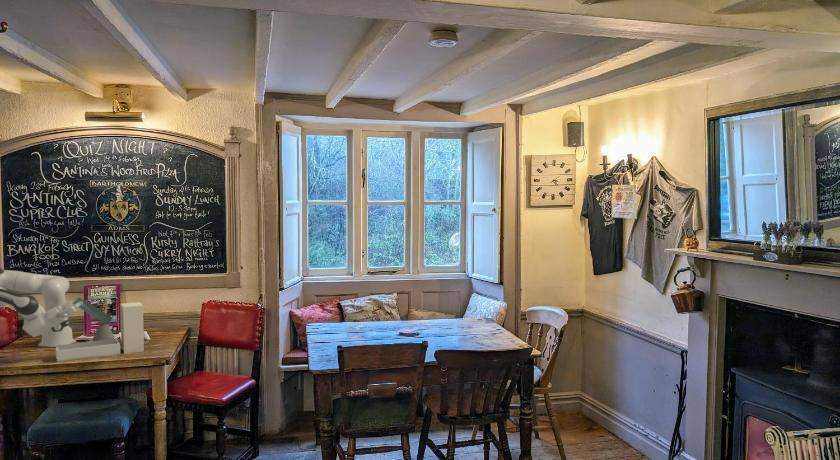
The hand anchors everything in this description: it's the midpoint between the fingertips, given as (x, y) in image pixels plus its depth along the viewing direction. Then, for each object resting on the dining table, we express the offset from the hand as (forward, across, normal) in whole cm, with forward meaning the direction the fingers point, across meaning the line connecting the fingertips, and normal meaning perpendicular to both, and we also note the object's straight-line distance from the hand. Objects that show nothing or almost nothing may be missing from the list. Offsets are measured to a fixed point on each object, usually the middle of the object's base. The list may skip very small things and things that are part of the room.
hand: (82, 300), depth 330 cm
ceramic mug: (+10, +15, +41) cm, 45 cm away
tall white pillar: (+6, 0, +38) cm, 39 cm away
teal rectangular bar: (0, 0, +8) cm, 9 cm away
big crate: (-13, 0, +27) cm, 30 cm away
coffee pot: (-3, +31, +34) cm, 46 cm away
